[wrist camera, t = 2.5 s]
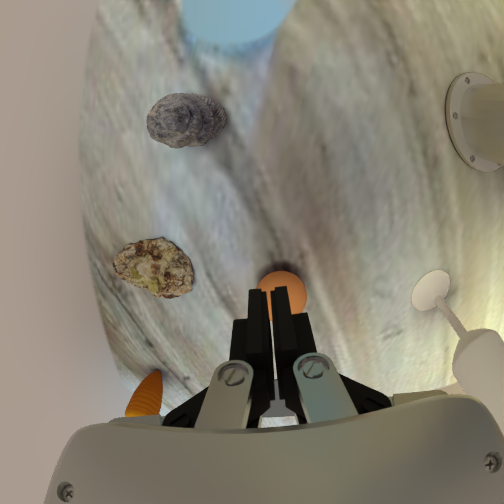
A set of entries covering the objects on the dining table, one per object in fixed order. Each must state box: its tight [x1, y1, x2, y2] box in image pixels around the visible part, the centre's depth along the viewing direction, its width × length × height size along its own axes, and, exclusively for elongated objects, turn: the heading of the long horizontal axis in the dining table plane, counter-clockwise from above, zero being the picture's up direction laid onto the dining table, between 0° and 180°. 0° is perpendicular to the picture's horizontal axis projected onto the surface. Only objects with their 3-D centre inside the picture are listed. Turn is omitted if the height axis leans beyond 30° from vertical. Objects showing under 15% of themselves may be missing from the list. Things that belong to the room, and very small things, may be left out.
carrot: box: [125, 371, 163, 417], centre depth 34 cm, size 5×5×15 cm
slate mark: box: [262, 380, 295, 417], centre depth 42 cm, size 12×12×1 cm
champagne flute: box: [412, 270, 504, 435], centre depth 21 cm, size 7×7×24 cm
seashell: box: [147, 93, 226, 148], centre depth 20 cm, size 5×5×10 cm
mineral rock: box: [113, 238, 194, 299], centre depth 31 cm, size 11×4×8 cm
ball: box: [256, 271, 307, 321], centre depth 29 cm, size 6×6×6 cm
